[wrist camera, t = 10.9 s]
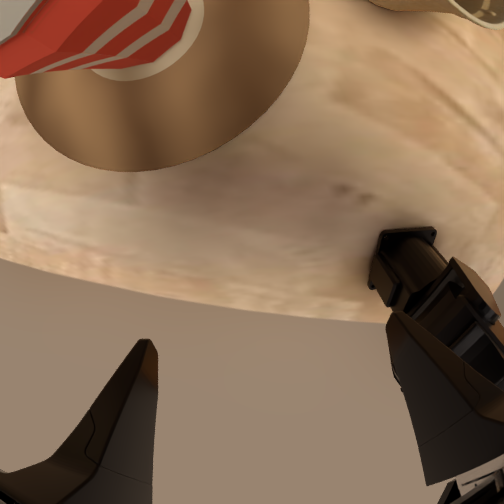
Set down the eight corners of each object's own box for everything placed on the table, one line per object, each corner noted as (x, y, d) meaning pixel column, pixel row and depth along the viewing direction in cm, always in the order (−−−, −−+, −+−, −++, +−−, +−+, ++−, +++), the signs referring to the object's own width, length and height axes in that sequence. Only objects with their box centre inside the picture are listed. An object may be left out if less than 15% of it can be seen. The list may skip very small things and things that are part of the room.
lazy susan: (292, -91, 5) (295, -96, 5) (308, 152, 17) (312, 156, 16) (25, -25, 5) (19, -26, 4) (45, 190, 17) (39, 195, 16)
